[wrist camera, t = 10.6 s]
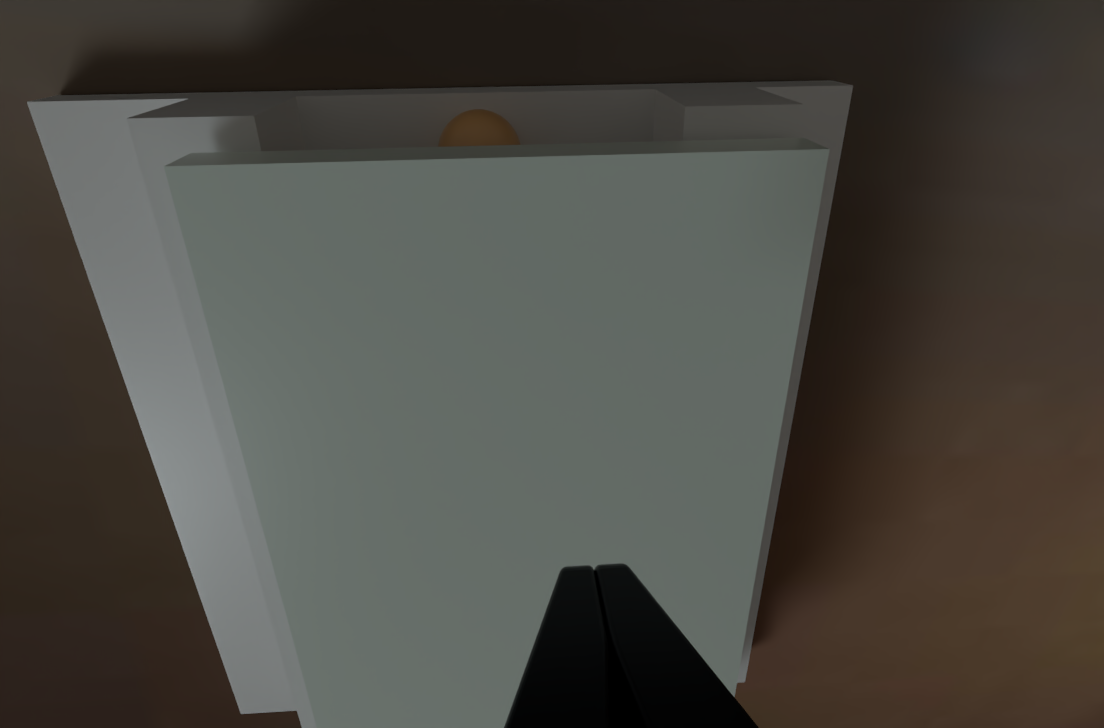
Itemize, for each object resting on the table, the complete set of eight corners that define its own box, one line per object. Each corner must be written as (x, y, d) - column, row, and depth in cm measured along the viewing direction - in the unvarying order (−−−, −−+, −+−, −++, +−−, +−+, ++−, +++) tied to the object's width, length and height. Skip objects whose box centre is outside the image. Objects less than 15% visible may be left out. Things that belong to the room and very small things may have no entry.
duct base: (832, 80, 15) (920, 101, 12) (735, 656, 23) (771, 757, 20) (56, 94, 14) (-71, 123, 11) (251, 685, 22) (210, 795, 19)
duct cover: (803, 137, 11) (829, 149, 11) (707, 759, 19) (717, 795, 19) (191, 153, 11) (163, 165, 10) (350, 785, 19) (343, 824, 18)
